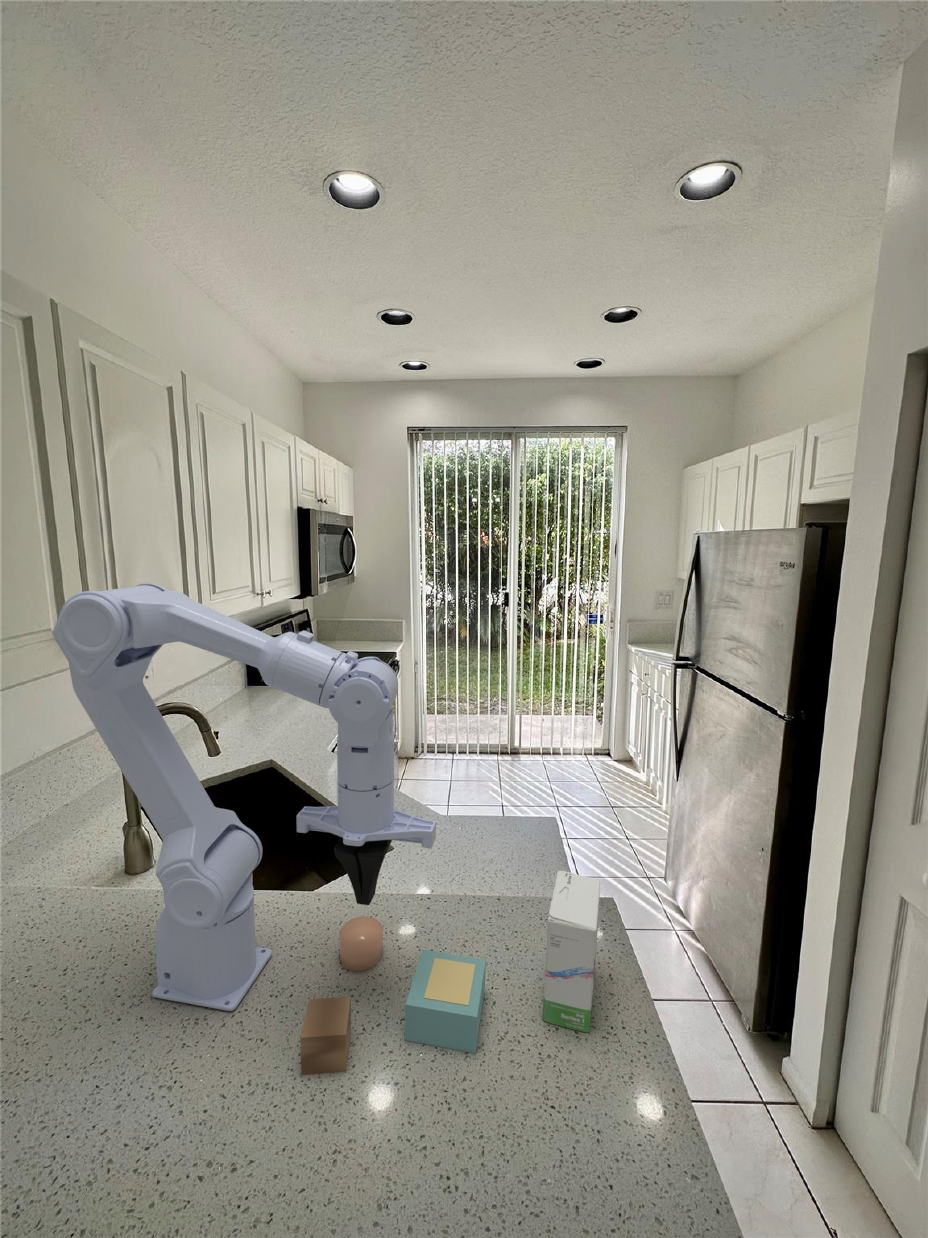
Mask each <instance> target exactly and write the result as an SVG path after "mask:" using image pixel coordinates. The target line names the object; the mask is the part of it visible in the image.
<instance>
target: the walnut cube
mask: <svg viewBox="0 0 928 1238" xmlns="http://www.w3.org/2000/svg"><path fill="white" fill-rule="evenodd" d="M351 1000H352V999H351V996H345V997H344V996H340V997H327V998H326V997H325V998H311V999H309V998H308V1001H307V1002H308V1003H307V1006H306V1011H305V1016H304V1020H303V1025H302V1030H301V1036H300V1066H301V1068H300V1069H301V1071H300V1073H301V1076H306V1075H317V1074H319V1075H320V1074H322V1075H323V1074H333V1073H344V1072H345V1073H346V1072H347V1068H348V1059H349V1051H350V1043H351V1033H352V1008H351V1007H352V1003H351V1002H352V1001H351Z"/></svg>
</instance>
